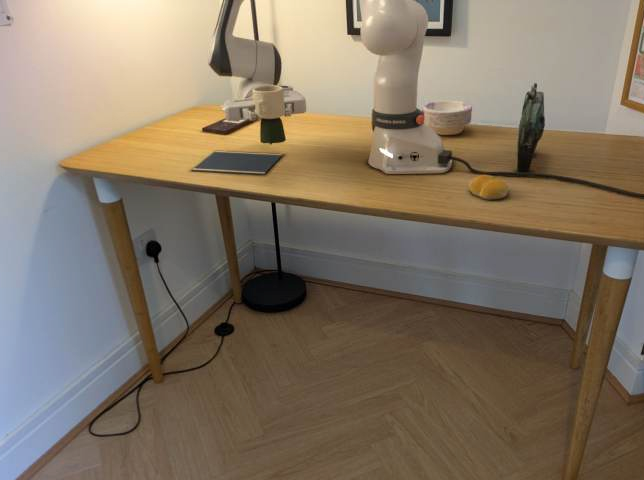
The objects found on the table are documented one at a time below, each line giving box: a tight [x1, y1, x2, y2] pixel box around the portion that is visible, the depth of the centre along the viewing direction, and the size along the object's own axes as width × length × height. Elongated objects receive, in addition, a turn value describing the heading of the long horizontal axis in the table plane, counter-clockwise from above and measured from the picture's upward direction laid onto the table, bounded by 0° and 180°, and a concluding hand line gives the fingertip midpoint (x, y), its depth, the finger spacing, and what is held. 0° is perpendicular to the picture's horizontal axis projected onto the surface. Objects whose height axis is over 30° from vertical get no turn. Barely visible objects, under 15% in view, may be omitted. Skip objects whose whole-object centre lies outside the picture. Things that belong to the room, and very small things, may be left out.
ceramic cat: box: [516, 82, 546, 173], centre depth 145 cm, size 20×6×20 cm, turn 162°
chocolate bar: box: [201, 117, 256, 135], centre depth 184 cm, size 9×1×18 cm
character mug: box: [253, 85, 286, 145], centre depth 135 cm, size 11×7×13 cm, turn 163°
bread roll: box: [468, 174, 509, 200], centre depth 132 cm, size 8×9×4 cm
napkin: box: [191, 150, 284, 176], centre depth 153 cm, size 20×16×1 cm
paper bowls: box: [421, 100, 473, 136], centre depth 173 cm, size 15×15×8 cm
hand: (270, 115), depth 134 cm, fingers closed on character mug, 7 cm apart
